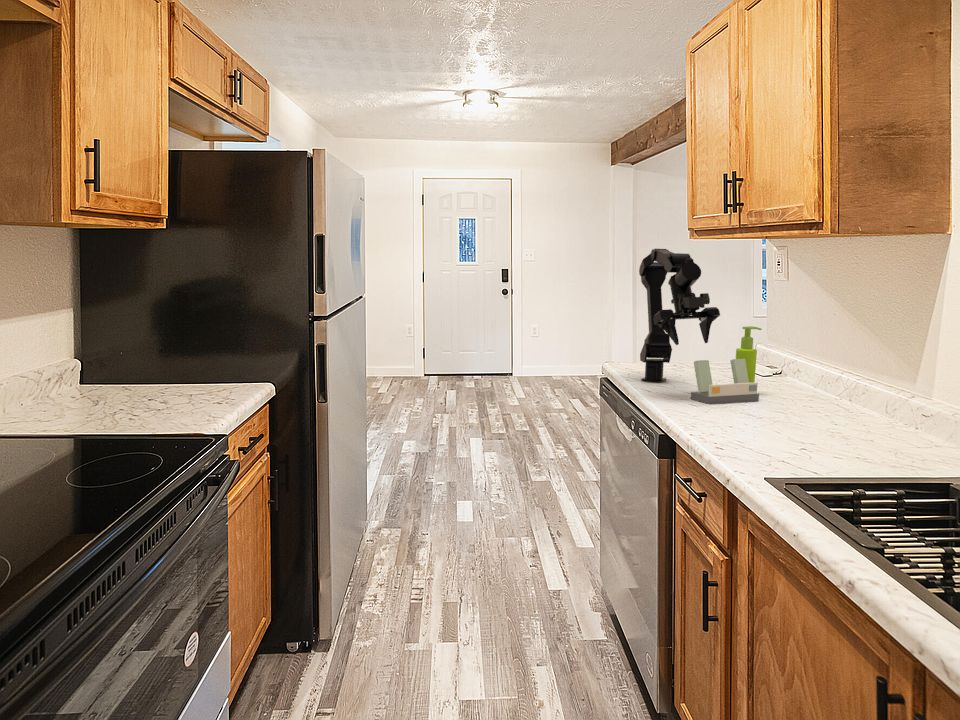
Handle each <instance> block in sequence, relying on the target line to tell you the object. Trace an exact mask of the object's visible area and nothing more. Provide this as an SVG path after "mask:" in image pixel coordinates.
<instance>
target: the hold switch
mask: <svg viewBox="0 0 960 720" xmlns="http://www.w3.org/2000/svg"><path fill="white" fill-rule="evenodd" d="M730 367H731V373H732V379H733V384H736V383H749V380H748V374H747V368H746V362H745V359H736V358H734V359H730Z"/></svg>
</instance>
